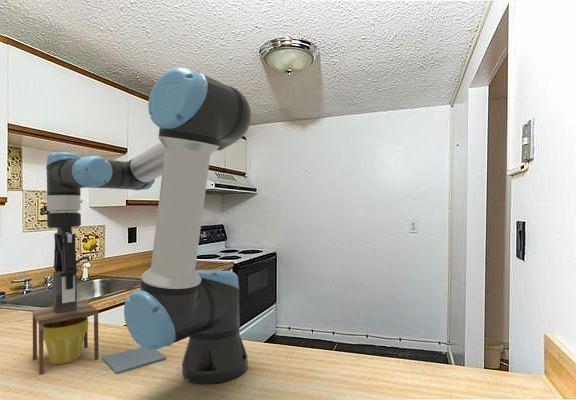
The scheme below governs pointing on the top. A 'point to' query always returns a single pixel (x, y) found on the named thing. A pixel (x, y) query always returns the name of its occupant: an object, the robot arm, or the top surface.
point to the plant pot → (65, 339)
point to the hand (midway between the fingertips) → (65, 298)
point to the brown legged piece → (62, 317)
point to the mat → (132, 359)
